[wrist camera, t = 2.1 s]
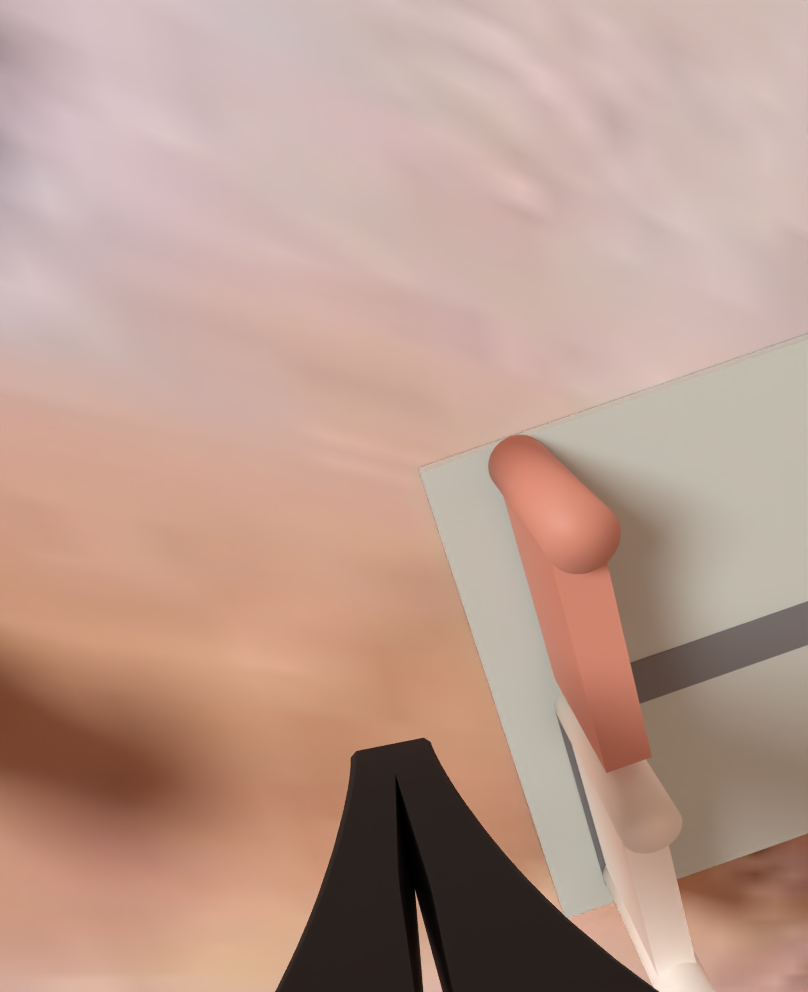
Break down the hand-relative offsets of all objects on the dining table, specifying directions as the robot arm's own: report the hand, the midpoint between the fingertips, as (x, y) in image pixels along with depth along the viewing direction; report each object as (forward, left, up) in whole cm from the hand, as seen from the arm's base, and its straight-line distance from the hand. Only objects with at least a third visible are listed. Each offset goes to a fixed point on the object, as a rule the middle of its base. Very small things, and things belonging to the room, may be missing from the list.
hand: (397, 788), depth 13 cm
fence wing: (-1, -5, -8) cm, 9 cm away
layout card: (-7, -10, -8) cm, 15 cm away
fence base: (-10, -5, -8) cm, 14 cm away
